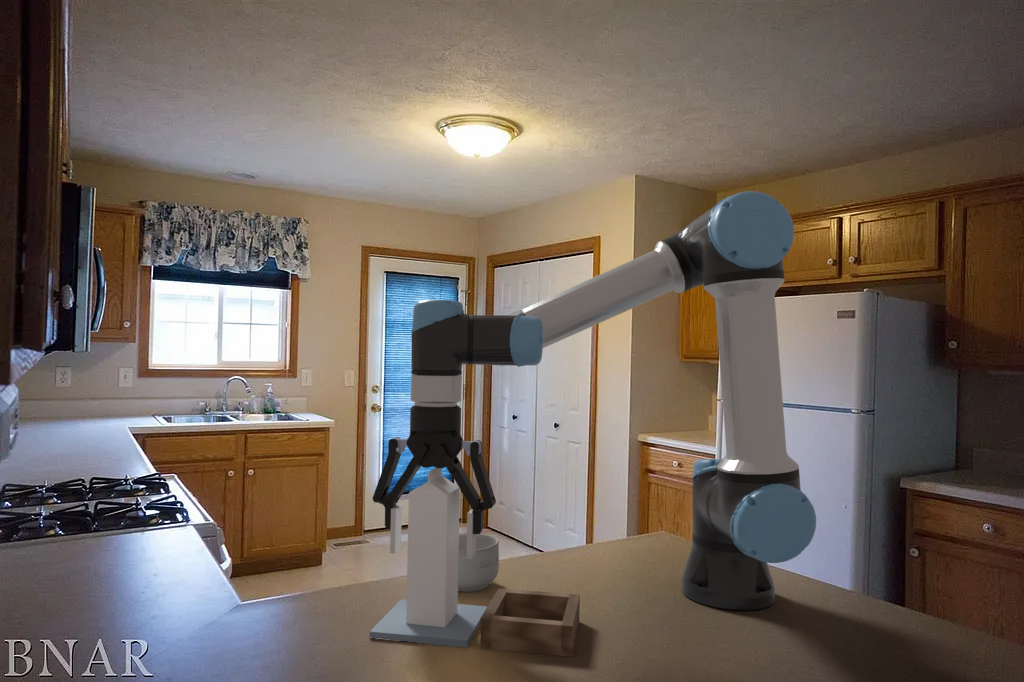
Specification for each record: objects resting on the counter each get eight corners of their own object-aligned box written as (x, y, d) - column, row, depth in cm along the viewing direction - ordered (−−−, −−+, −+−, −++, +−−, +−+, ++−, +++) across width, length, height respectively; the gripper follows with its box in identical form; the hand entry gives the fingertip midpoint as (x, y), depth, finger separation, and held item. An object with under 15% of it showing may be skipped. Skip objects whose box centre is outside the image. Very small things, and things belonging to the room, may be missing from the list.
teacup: (490, 599, 111) (491, 550, 111) (427, 594, 113) (428, 545, 113) (507, 573, 124) (508, 530, 125) (451, 569, 127) (451, 526, 127)
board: (487, 613, 105) (487, 606, 105) (467, 647, 92) (467, 640, 92) (400, 605, 107) (401, 599, 107) (369, 638, 94) (369, 631, 94)
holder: (579, 621, 102) (579, 594, 102) (572, 656, 90) (572, 626, 90) (498, 614, 104) (498, 588, 104) (480, 648, 92) (480, 618, 92)
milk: (405, 624, 97) (407, 470, 98) (420, 609, 103) (422, 464, 104) (446, 628, 96) (447, 472, 97) (458, 613, 102) (460, 466, 103)
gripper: (517, 404, 102) (515, 551, 102) (371, 400, 106) (367, 541, 106) (508, 408, 95) (505, 566, 94) (351, 403, 99) (348, 555, 98)
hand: (433, 553), depth 100 cm, fingers open, 11 cm apart
